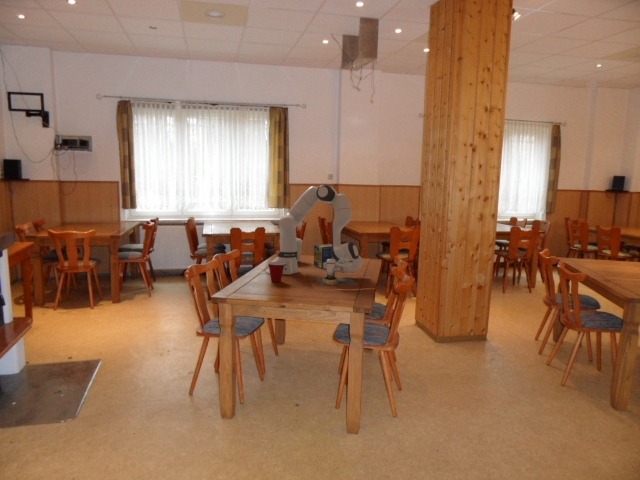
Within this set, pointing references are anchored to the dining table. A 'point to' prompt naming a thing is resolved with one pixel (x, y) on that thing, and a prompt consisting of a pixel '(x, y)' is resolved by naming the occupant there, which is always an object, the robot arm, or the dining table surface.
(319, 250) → the protein box
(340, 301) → the dining table surface
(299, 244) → the canister
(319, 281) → the rubber mat
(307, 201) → the robot arm
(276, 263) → the plastic cup
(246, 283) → the dining table surface
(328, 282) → the brass collar
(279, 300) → the dining table surface
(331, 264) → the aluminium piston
